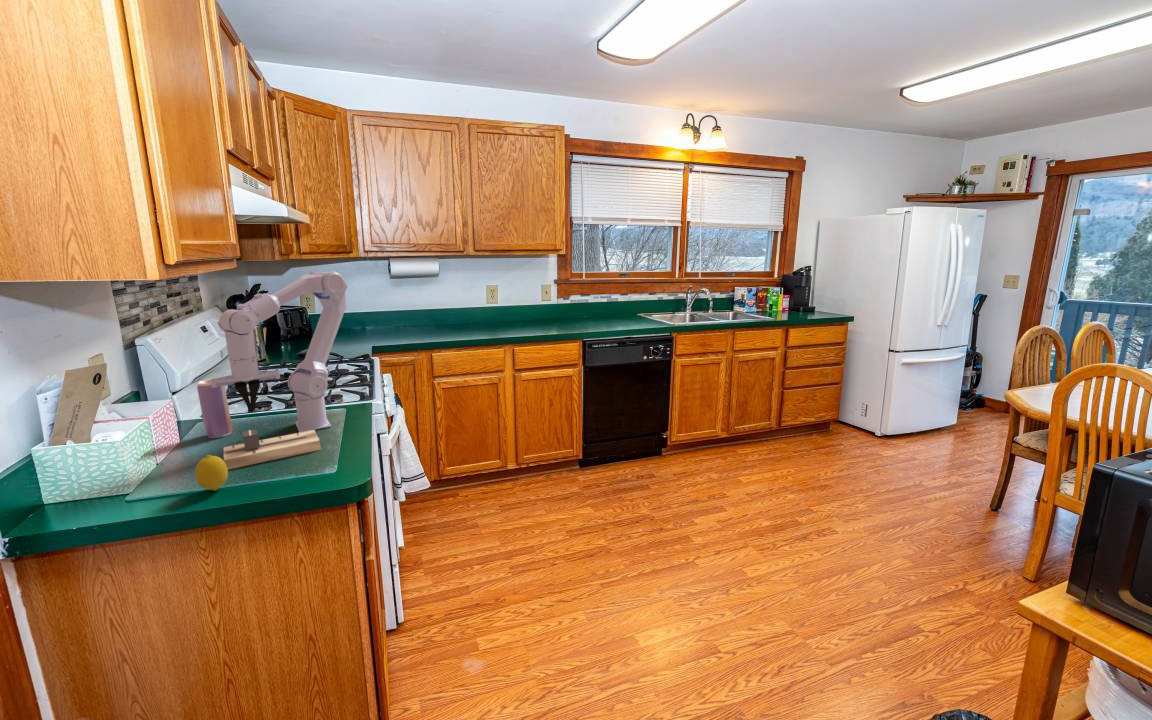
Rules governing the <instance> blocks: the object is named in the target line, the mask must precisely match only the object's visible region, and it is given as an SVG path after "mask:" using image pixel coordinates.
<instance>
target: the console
mask: <svg viewBox="0 0 1152 720" xmlns="http://www.w3.org/2000/svg"><path fill="white" fill-rule="evenodd" d="M259 444H260V447H259V448H254V449H249V450H245V445H244V442H242V443H238V444H233V445H229V446H223V461H224V462H225V464H226V466H227V469H228V470H233V469H237V468H242V467H246V466H251V465H256V464H260V463H264V462H269V461H275V460H278V459H283V458H284V459H285V458H288V457H294V456H297V455H303V454H307V453H312V452H316V451H320V450H321V451H322V448H321V440H320V438H319V436H318V434H317V432H316V430H310V431H305V432H299V431H298V432H295V433H294V432H293V433H290V434H286V435H280V436H275V437H269V438H264V439H259Z"/></svg>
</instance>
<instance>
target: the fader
mask: <svg viewBox="0 0 1152 720" xmlns="http://www.w3.org/2000/svg"><path fill="white" fill-rule="evenodd" d="M242 438H243V443H244V445H245V450H249V449H254V448H259V447H260V444H259V440H260V438H259V433H258V429H255V428H254V429H251V430H250V429H248V430H244V431H242Z"/></svg>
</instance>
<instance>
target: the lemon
mask: <svg viewBox="0 0 1152 720" xmlns="http://www.w3.org/2000/svg"><path fill="white" fill-rule="evenodd" d="M194 473H195V475H194V476H195V480H196V482H197V484H198V485H199V486H200V487H201V488H203V489H205V490H206V489H207V490H211V491H213V492H214V491H217V490H218V489H219V488H220V487H222V486H223V485H224V484H225V483H226V481H227V479H228V477H229V469H227V466H226V464H225V462H224V459H223V458H221V457H220V456H217V455H211V454H207V455H206V456H205V457H203V458H202V459H200V460H199V461H198V462H197V465H196V466H195V472H194Z"/></svg>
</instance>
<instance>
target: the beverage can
mask: <svg viewBox="0 0 1152 720" xmlns="http://www.w3.org/2000/svg"><path fill="white" fill-rule="evenodd" d="M211 379H212V378H210V379H206V380H201V381H199V382H197V384H196V385H197V388H196V389H197V393H198V394H197V395H198V401H199V404H200V410H201V414H202V415H201V416H202V421H203V426H204V430H205V435H206V437H207V438H209V439H219V438H224V437H227V436H229V435H231V434H232V432H233V425H232V420H231V415H230V407H229V402H228V397H227V390H226V386H218V387H216V388H212V385H211Z"/></svg>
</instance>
